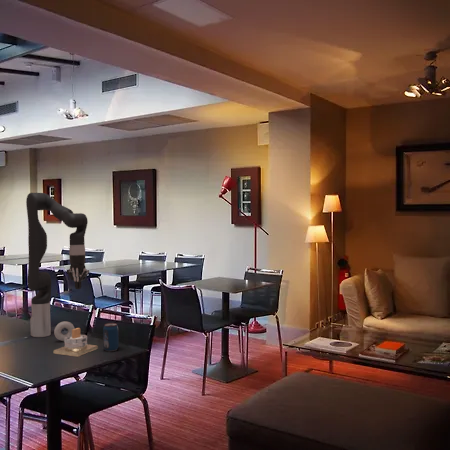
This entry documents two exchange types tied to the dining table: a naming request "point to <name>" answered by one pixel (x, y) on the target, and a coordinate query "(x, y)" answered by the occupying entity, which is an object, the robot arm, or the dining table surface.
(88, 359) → the dining table surface
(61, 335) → the donut
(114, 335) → the soda can
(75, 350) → the candle holder
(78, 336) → the orange block with base
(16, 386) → the dining table surface
